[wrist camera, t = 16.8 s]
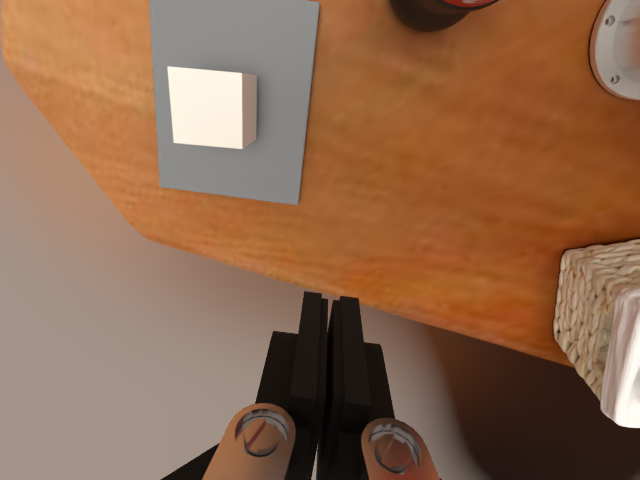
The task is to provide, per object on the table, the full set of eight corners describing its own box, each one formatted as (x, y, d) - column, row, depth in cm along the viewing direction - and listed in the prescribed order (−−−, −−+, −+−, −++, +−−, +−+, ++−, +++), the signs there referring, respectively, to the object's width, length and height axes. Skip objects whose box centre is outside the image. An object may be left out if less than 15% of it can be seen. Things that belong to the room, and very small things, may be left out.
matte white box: (256, 75, 34) (241, 73, 28) (256, 139, 36) (242, 149, 31) (194, 69, 34) (167, 66, 28) (197, 134, 36) (173, 142, 31)
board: (320, 6, 35) (319, 2, 33) (299, 200, 43) (297, 205, 41) (157, -17, 34) (147, -23, 33) (167, 182, 42) (159, 186, 41)
